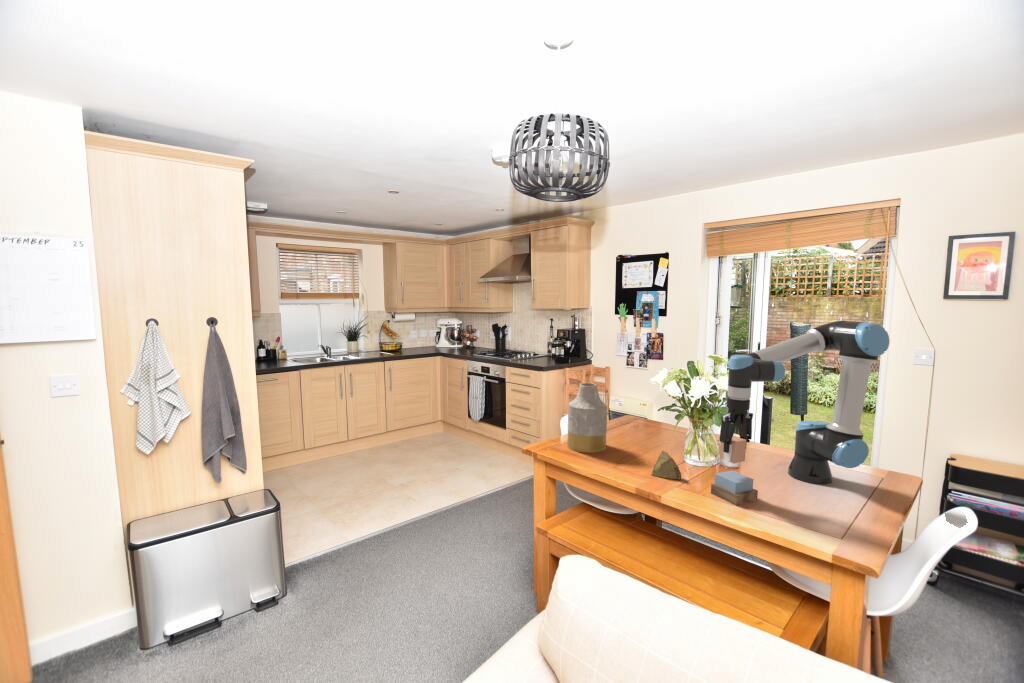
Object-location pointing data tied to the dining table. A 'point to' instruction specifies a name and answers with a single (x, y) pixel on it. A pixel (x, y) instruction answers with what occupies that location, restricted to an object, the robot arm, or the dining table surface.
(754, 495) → the tower base
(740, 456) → the block
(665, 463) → the rock
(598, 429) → the vase
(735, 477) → the tower top
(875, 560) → the dining table surface
